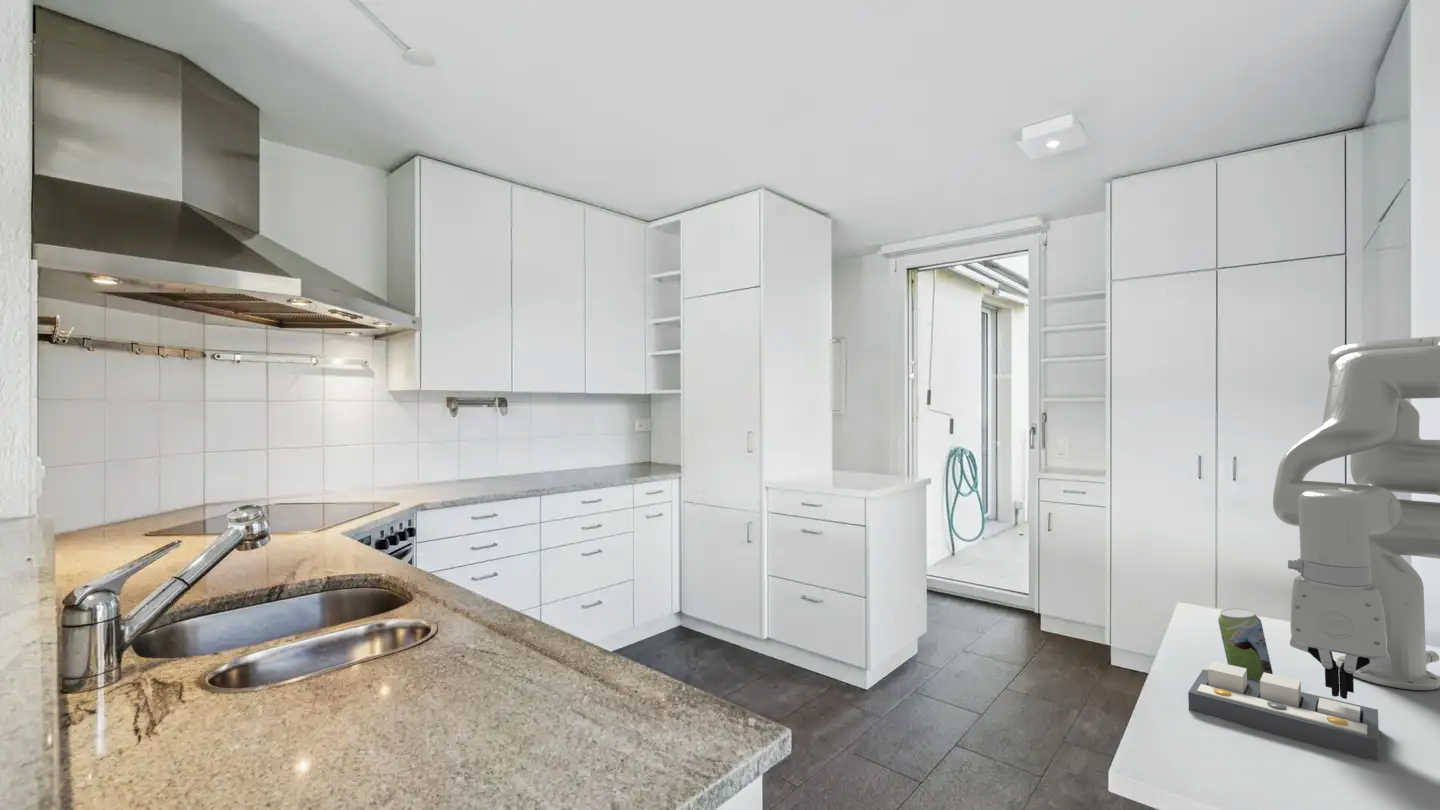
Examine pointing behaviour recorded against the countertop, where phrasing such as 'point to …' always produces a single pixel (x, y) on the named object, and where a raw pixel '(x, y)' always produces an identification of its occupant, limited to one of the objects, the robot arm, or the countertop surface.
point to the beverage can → (1245, 642)
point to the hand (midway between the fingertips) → (1339, 694)
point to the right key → (1339, 709)
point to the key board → (1288, 718)
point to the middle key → (1280, 689)
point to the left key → (1227, 677)
